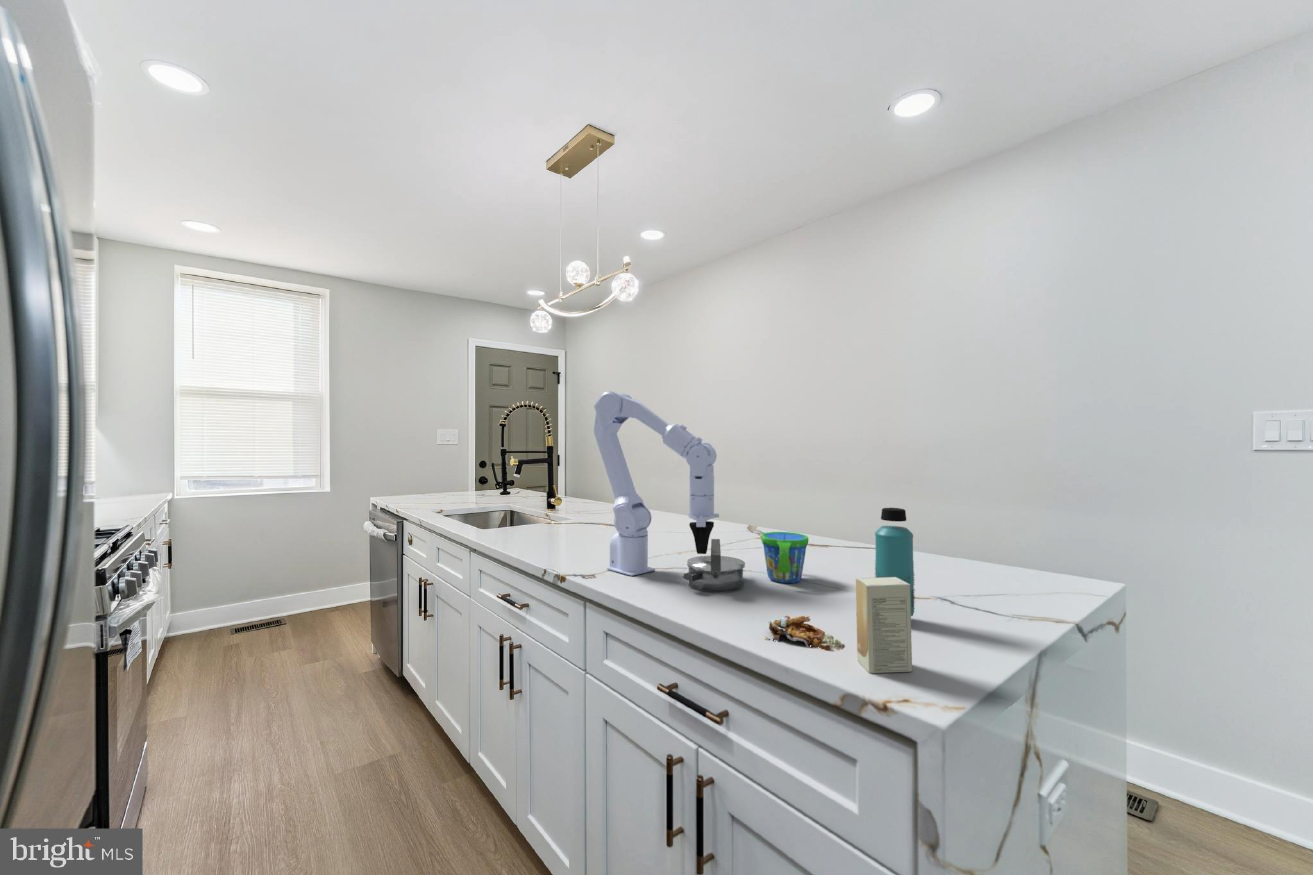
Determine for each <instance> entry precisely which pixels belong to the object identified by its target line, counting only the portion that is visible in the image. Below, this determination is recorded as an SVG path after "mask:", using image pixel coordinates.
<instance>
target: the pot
mask: <svg viewBox="0 0 1313 875" xmlns="http://www.w3.org/2000/svg"><path fill="white" fill-rule="evenodd" d="M745 563H746V562H745V561H744V568H745V567H746V566H745V565H746V564H745ZM744 568H743V569H741V570H738V571H733V572H705V571H699V570H694V569H691V568H689V567H688V572H684V573H683V580H685V581H688V587H690V588H692V589H693V590H696V591H700V592H706V593H730V592H732V593H733V592H737V591H739V590H741V589H743V588H744Z"/></svg>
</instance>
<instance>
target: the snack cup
mask: <svg viewBox="0 0 1313 875" xmlns="http://www.w3.org/2000/svg"><path fill="white" fill-rule="evenodd" d="M760 536H761V538H760V539H761V540H760V541H761V544H762V545H763V552H764V559H765V567H766V568H765V569H766V572H767V577H768V579H769V580H770V581H774V582H777V583H779V584H781V583H782V584H792V583H793V584H795V583H797V582H800V581H801V580H802V577H803V570H804V565H805V559H806V553H807V552H806V551H807V546H808V544H809V536H808V535H806V534H803V533H798V532H790V531H789V532H788V531H770V532H765V533H762V534H761V535H760Z"/></svg>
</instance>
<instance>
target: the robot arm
mask: <svg viewBox="0 0 1313 875" xmlns="http://www.w3.org/2000/svg"><path fill="white" fill-rule="evenodd" d="M593 407H594V411H595V418H594V424H593V425H594V428H593V434H594V436H595V440H596V443H597V446H598V449H599V450H598V451H599V452H600V456H601V458H602V461H603V462H602V463H603V466H604V469H605V471H606V475H607V478H608V480H609V484H610V486H611V490H612V492H613V493H612V494H613V496H614V499H615V500H614V504H613V508H612V510H613V515H614V520H613V523H614V524H613V525H614V528H615V530H616V531H617V532H616V533H615V534H613V536H612V537H611V538H610V542H609V566H607V567H606V570H609V571H612V572H616V573H620V574H623V575H627V576H629V577H630V576H631V577H632V576H636V575H640V574H647V573H650V572H655V571H656V568H653V567H650V566H648V565H649V563H648V561H649V560H648V559H649V553H648V552H649V549H648V548H649V546H648V545H649V536H648V535H649V532H648V528H649V527H650V525H651V523H652V518H653V516H652V513H651V511H650V510H649V508H648V507H647V506H646V505H645V503H644V501H643V498H642V497H641V496H640V495H639V494H638V493H637V491H636V487H635V486H634V485H635V484H634V481H633V478H632V477H631V473H630V470H629V467H628V464H627V460H626V458H625V455H624V451H623V449H622V445H621V443H620V439H619V436H618V432H619V431H620V428H621V427H622V426H623V424H624V423H625V422H626V421H628V419H629V418H632V419H637V421H639V422H640V423H642V424H644V425H645V426H646V427H648V428H650V429H651V430H653V431H654V432H655V433H658V434H659V435H660V436H661V439H662V442H663V444H664V445H665V446H667V447H668V448H669V449H671V450H672V451H674V453H676V454H678V456H680V457H682V458H683V459H685V461H686V463H687V464H688V466H689V512H688V518H689V519H691V520H693V521H691V522H689V528H690V531H691V532H692V535H693V539H694V545H695V549H696V554H698V555H706V554H707V552H708V546H709V542H710V541H709V540H710V536H711V533H712V531H713V528H714V527H715V525H714V524H715V522H714V521H710V520H713V519H715V518H720V514H719V513H715V474H714V473H715V472H714V467H715V466H714V464H715V462H716V460H717V451H716V449H715V448H714V447H713V446H712V445H711V444H710V443H708V442H703V438H701V437H700V436H698V437H697V436H695V435H694V434H692V433H691V432H689V430H687V428H688V427H687V426H686V425H684V424H680V425H679V423H674V424H670V423H668V422H667V421H665V419H663V418H662V417H661V416H659V415H658V414H656V413H655V411H653V410H651V409H650V408H649V407H647V406H646V405H645V404H644V403H642V402H641V401H639V400H637V399H636V398H633V397H631V396H630V395H629V394H625V393H618V392H615V391H610V390H609V391H605V392H603V393H601V395H600V396H598V398H597V401H596V402H595V404H594V406H593Z"/></svg>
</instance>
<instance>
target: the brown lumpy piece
mask: <svg viewBox="0 0 1313 875" xmlns="http://www.w3.org/2000/svg"><path fill="white" fill-rule="evenodd" d="M811 620H812V619H811V618H810V616H809V615H807V616H806V615H800V616H795V617H790V616H789V615H785V616H784V617H783V616H782V617H781V618H780V619H779V620H778V619H776V620H774V621H773V622H772V621H769V626H768V630H769V631H770V632H771V634H772V636H773V638H772V639H773V640H772V642H776V641H777V642H778V643H779V642H780V636H781V637H782V636H783V635H785V636H784V637H787V639H789V640H790V641H793V642H797V641H798V642H804V643H805V646H806V648H813V647H814V648H818V647H819V648H821V649H820V650H823V649H825V650H824V651H830V649H831V650H833V649H840V650H842V649H843V648H844V647H843V646H844V644H843V643H842V641H841V640H838V639H837V638H836V637H834V636H833V635H831V634H830V633H826V631H824V630H823V629H820V628H818V627H815V626H814V625H810V623H808V622H810V621H811ZM806 622H807V623H806ZM763 639H764V640H765V641H771V638H769V637H767V636H763ZM774 640H775V641H774ZM777 642H776V643H777ZM810 645H812V646H811V647H810ZM819 648H818V649H819Z"/></svg>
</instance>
